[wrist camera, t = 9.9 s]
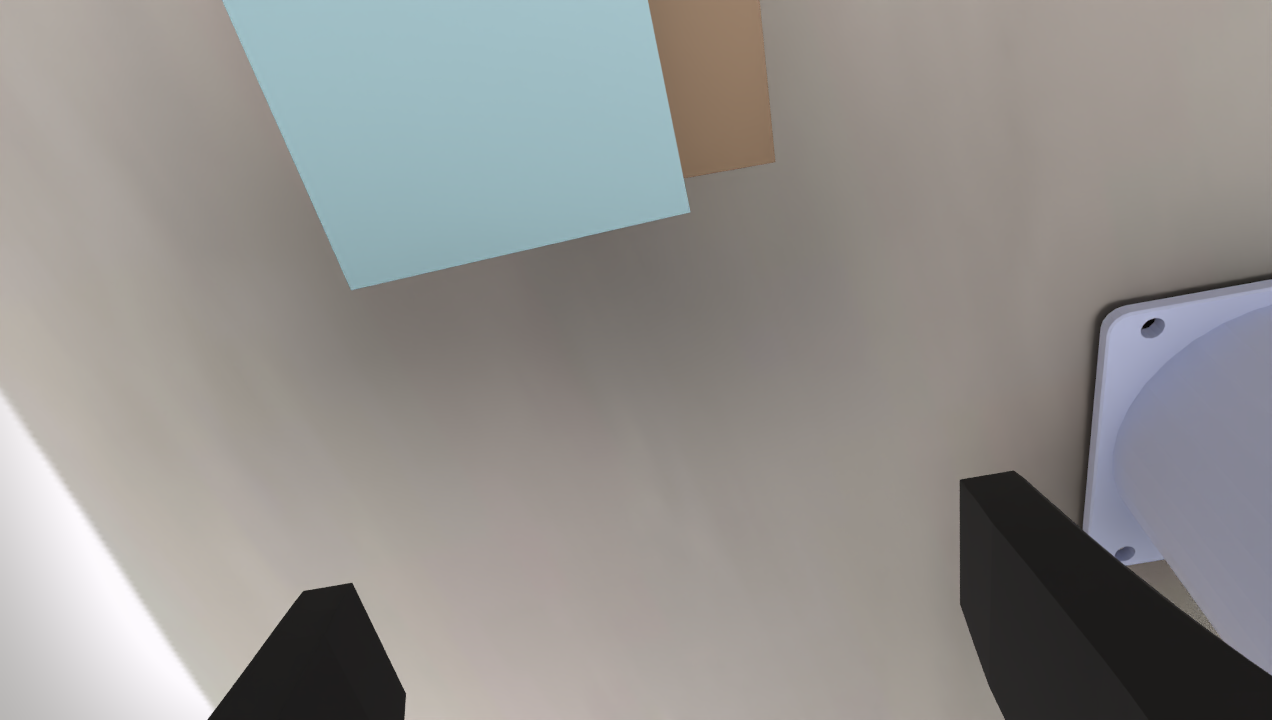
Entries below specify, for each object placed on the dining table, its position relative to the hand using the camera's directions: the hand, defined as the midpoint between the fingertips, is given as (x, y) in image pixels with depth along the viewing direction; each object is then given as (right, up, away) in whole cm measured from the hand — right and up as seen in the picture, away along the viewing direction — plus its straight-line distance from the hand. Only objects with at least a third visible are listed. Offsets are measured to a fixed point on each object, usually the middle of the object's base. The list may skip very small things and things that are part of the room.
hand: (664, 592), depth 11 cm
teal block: (-3, +9, +3) cm, 10 cm away
